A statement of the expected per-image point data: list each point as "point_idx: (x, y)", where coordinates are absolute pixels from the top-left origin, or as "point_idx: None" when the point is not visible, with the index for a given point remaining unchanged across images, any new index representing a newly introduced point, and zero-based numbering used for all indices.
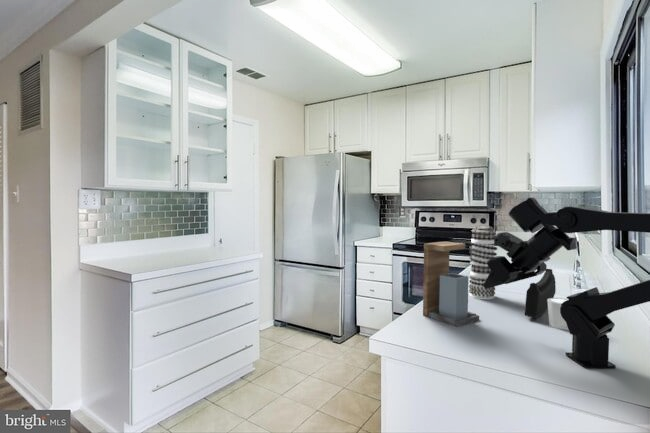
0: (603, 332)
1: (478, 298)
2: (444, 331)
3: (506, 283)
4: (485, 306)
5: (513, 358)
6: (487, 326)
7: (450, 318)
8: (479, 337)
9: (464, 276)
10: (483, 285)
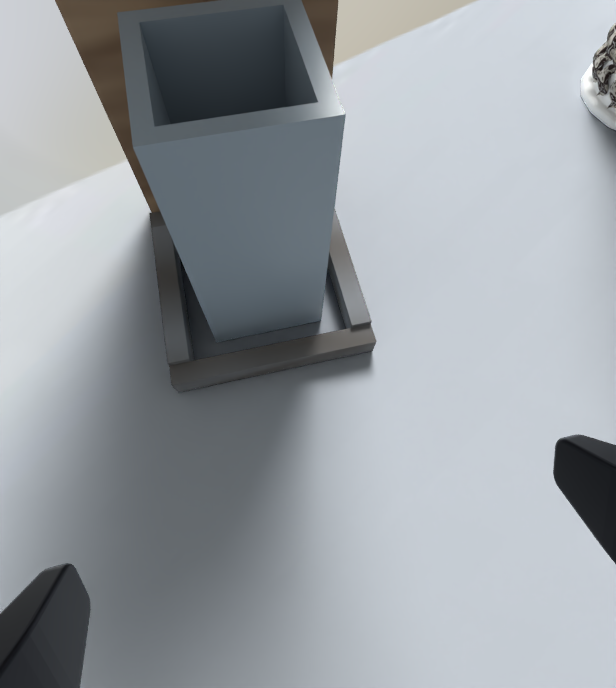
0: None
1: (598, 117)
2: (55, 422)
3: (569, 496)
4: (556, 208)
5: None
6: (339, 447)
7: (170, 332)
8: (152, 576)
9: (298, 107)
10: (39, 580)
